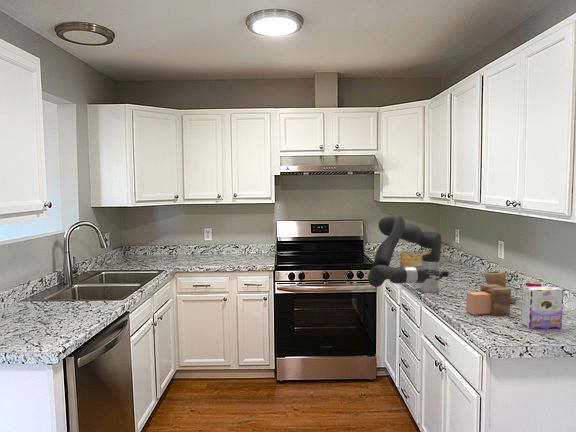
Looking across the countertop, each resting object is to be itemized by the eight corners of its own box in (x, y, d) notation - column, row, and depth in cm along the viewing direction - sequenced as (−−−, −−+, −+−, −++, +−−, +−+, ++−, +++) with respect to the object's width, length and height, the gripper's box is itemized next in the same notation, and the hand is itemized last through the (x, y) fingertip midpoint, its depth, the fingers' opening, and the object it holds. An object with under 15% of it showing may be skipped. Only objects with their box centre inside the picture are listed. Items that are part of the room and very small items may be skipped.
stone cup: (480, 295, 212) (481, 268, 211) (503, 296, 211) (504, 268, 210) (492, 303, 197) (493, 274, 196) (517, 304, 196) (518, 274, 195)
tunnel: (479, 309, 187) (480, 284, 186) (494, 308, 189) (495, 283, 188) (494, 316, 177) (495, 289, 177) (509, 315, 179) (511, 289, 178)
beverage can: (526, 303, 197) (528, 280, 197) (541, 306, 194) (542, 282, 193) (524, 306, 193) (526, 282, 192) (539, 309, 189) (541, 284, 188)
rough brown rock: (430, 270, 281) (429, 249, 281) (436, 273, 264) (435, 251, 265) (396, 270, 283) (396, 250, 284) (400, 273, 267) (400, 251, 267)
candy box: (551, 323, 168) (554, 285, 167) (561, 328, 162) (564, 289, 161) (520, 323, 167) (522, 285, 166) (529, 328, 162) (531, 289, 160)
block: (466, 311, 183) (466, 292, 182) (496, 309, 186) (496, 290, 185) (473, 314, 178) (474, 295, 177) (503, 312, 181) (504, 293, 181)
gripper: (420, 269, 167) (457, 268, 170) (405, 263, 179) (439, 262, 183) (420, 286, 167) (456, 285, 170) (404, 279, 180) (438, 278, 183)
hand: (447, 273), depth 177 cm, fingers closed
